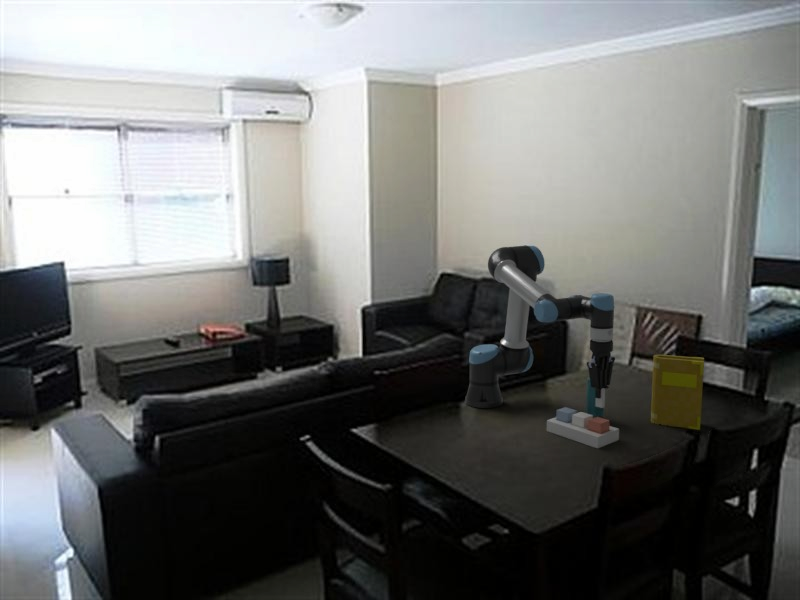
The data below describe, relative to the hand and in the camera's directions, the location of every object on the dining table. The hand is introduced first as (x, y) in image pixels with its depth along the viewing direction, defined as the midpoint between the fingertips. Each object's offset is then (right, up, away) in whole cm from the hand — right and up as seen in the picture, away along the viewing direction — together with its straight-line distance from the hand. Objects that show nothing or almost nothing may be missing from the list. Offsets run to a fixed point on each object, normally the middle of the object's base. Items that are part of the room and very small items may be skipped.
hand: (600, 406), depth 237 cm
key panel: (-4, -11, +8) cm, 14 cm away
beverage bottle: (+5, -8, +25) cm, 27 cm away
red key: (0, -10, +2) cm, 10 cm away
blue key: (-8, -8, +13) cm, 17 cm away
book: (+33, -9, +17) cm, 38 cm away
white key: (-4, -9, +7) cm, 12 cm away
